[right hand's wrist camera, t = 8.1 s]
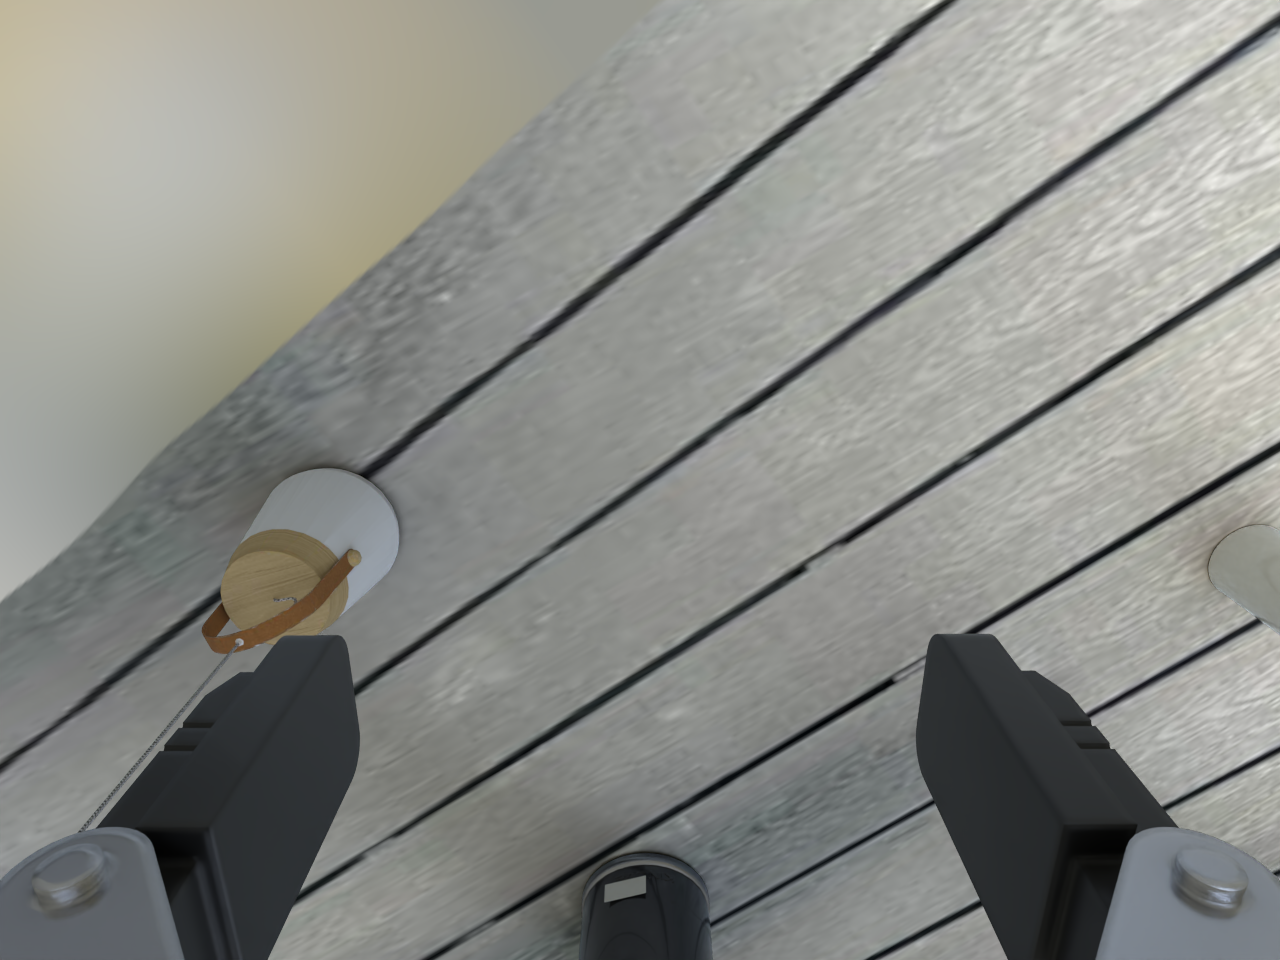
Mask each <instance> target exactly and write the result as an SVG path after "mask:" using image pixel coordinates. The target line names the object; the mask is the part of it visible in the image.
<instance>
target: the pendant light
mask: <svg viewBox="0 0 1280 960" xmlns="http://www.w3.org/2000/svg"><path fill="white" fill-rule="evenodd" d="M398 547H399V527H398V520H397V517H396V515H395V512H394V510H393V507H392V505H391V504H390V502H389V501H388V499H387V498H386V497H385V495H384V494H383V493H382V491H380V490H379V489H378V488H377V487H376V486H375V485H374V484H373V483H371V482H370V481H368V480H366V479H365V478H363V477H362V476H360V475H357V474H354V473H352V472H349V471H346V470H342V469H335V468H321V469H313V470H308V471H304V472H301V473H298V474H295V475H293V476H291V477H289V478H287V479H285V480H284V481H283V482H281V483H280V484H279V485H278V486H277V487H276V488H275V489H274V490H273V491H272V493H271V494H270V496H269V497H268V499H267V500H266V502H265V503H264V505H263V507H262V508H261V510H260V512H259V513H258V515H257V517H256V518H255V520H254V521H253V523H252V525H251V526H250V528H249V530H248V531H247V533H246V535H245V536H244V538H243V540H242V541H241V543H240V544H239V546H238V548H237V549H236V551H235V552H234V554H233V555H232V557H231V559H230V562H229V564H228V567H227V569H226V572H225V574H224V577H223V579H222V585H221V598H222V603H221V604H220V605H219V606H218V608H217V609H216V610H215V611H214V612H213V614H212V615H211V616H210V617H209V618H208V620H207V621H206V622H205V624H204V625H203V627H202V634H203V636H204V637H205V639H206V641H207V643H208V644H209V646H210V648H211V649H212V650H213V651H214V652H216V653H219V654H227V656H226V657H225V658H224V659H223V660H222V662H221V663H220V664H219V665H218V666H217V667H216V669H215V670H214V671H213V672H212V673H211V675H210V676H209V677H208V678H207V679H206V681H205V682H204V683H203V684H202V685H201V687H200V688H199V689H198V690H197V691H196V692H195V694H194V695H193V696H192V697H191V698H190V700H189V701H188V702H187V703H186V704H185V706H184V707H183V708H182V709H181V710H180V711H179V713H178V714H177V715H176V716H175V717H174V719H173V720H172V721H171V722H170V723H169V725H168V726H167V727H166V728H165V729H164V731H163V732H162V733H161V734H160V735H159V736H158V738H157V739H156V740H155V741H154V742H153V744H152V745H151V746H150V747H149V748H148V750H147V751H146V752H145V753H144V754H143V756H142V757H141V758H140V759H139V760H138V761H137V763H136V764H135V765H134V766H133V767H132V769H131V770H130V771H129V772H128V773H127V775H126V776H125V777H124V778H123V779H122V780H121V782H120V783H119V784H118V785H117V786H116V788H115V789H114V790H113V791H112V792H111V794H110V795H109V796H108V797H107V798H106V800H105V801H104V802H103V803H102V804H101V805H100V807H99V808H98V809H97V810H96V811H95V813H94V814H93V815H92V816H91V817H90V819H89V820H88V821H87V822H86V823H85V824H84V826H83V827H82V828H81V829H80V830H79V832H83V831H85V830H86V829H87V828H88V826H89V825H90V824H91V823H92V822H93V820H94V819H95V818H96V817H97V816H98V814H99V813H100V812H101V811H102V809H103V808H104V807H105V806H106V805H107V803H108V802H109V801H110V800H111V799H112V797H113V796H114V795H115V794H116V793H117V791H118V790H119V789H120V788H121V787H122V785H123V784H124V783H125V782H126V781H127V779H128V778H129V777H130V776H131V775H132V773H133V772H134V771H135V770H136V769H137V767H138V766H139V765H140V764H141V763H142V761H143V760H144V759H145V758H146V757H147V755H148V754H149V753H150V752H151V751H152V749H153V748H154V747H155V746H156V745H157V743H158V742H159V741H160V740H161V739H162V737H163V736H164V735H165V734H166V733H167V731H168V730H169V729H170V728H171V727H172V725H173V724H174V723H175V722H176V721H177V719H178V718H179V717H180V716H181V715H182V713H183V712H184V711H185V710H186V709H187V707H188V706H189V705H190V704H191V703H192V701H193V700H194V699H195V698H196V696H197V695H198V694H199V693H200V692H201V690H202V689H203V688H204V687H205V686H206V684H207V683H208V682H209V681H210V680H211V678H212V677H213V676H214V675H215V674H216V672H217V671H218V670H219V669H220V668H221V666H222V665H223V664H224V663H225V662H226V660H227V659H228V658H229V657H230V656H231V654H232V653H235V652H240V651H243V650H246V649H250V648H252V647H255V646H258V645H260V644H262V643H267V644H272V645H275V644H276V643H277V641H278V640H279V639H280V638H281V637H283V636H286V635H317V634H318V633H320V632H321V631H323V630H324V629H326V628H327V627H329V626H330V625H332V624H333V623H334V622H335V621H336V620H337V619H338V618H339V617H340V616H341V615H342V614H343V613H344V612H346V611H347V610H348V609H349V608H350V607H351V606H352V605H353V604H354V603H355V602H357V601H358V600H359V599H360V598H361V597H362V596H363V595H364V594H365V593H366V592H368V591H369V590H370V589H371V588H372V587H373V586H374V585H375V584H376V583H378V582H379V581H380V580H381V579H382V578H383V577H384V576H385V575H386V574H387V573H388V571H389V570H390V569H391V567H392V565H393V563H394V561H395V559H396V556H397V552H398ZM229 619H231V620H232V621H233V623H234V624H235V625H236V626H237V627H238V628H239V629H240V630H242V631H240V632H237V633H233V634H230V635H227V636H219V637H216V636H217V635H218V634H219V632H220V631H221V630H222V628H223V627H224V626H225V624H226V623H227V622H228V621H229ZM79 832H78V833H79Z"/></svg>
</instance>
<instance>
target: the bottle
mask: <svg viewBox="0 0 1280 960" xmlns="http://www.w3.org/2000/svg"><path fill="white" fill-rule="evenodd" d="M1208 571H1209V577H1210V579H1211V582H1212V583H1213V585H1214V586H1215V587H1216V588H1217V589H1218V590H1219V591H1221V592H1222V593H1223V594H1225V595H1226V596H1227V597H1229V598H1230V599H1231V600H1233V601H1234V602H1235V603H1237V604H1238V605H1240V606H1241V607H1242V608H1244V609H1245V610H1246V611H1248V612H1249V613H1250V614H1252V615H1253V616H1254V617H1256V618H1257V619H1259V620H1260V621H1261V622H1263V623H1264V624H1265V625H1267V626H1268V627H1269V628H1271V629H1272V630H1273V631H1275V632H1276V633H1277V634H1279V635H1280V530H1278V529H1276V528H1274V527H1271V526H1267V525H1252V526H1247V527H1244V528H1241V529H1238V530H1236V531H1234V532H1233V533H1231V534H1229V535H1228V536H1227V537H1225V538H1224V539H1223V540H1222V541H1221V542H1220V543H1219V544H1218V545H1217V547H1216V548H1215V550H1214V551H1213V553H1212V555H1211V558H1210V561H1209V567H1208Z"/></svg>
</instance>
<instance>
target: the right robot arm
mask: <svg viewBox="0 0 1280 960" xmlns="http://www.w3.org/2000/svg"><path fill="white" fill-rule="evenodd" d="M1109 744H1110V743H1109V742H1108V741H1107V739H1106V738H1105V737H1104V736H1103V735H1102V733H1101V732H1100V731H1099V730H1098V728H1097V727H1096V726H1092V725H1091V720H1090V719H1089V717H1088V716H1087V715H1086V714H1085V713H1084V711H1083V710H1082V709H1081V708H1080V706H1079V705H1078V704H1077V703H1076V702H1075V700H1074V699H1073V698H1072V697H1071V695H1070V694H1069V693H1067V692H1066V691H1064V690H1063V689H1061V688H1060V687H1058V686H1057V685H1055V684H1054V683H1052V682H1051V681H1049V680H1048V679H1046V678H1045V677H1043V676H1042V675H1040V674H1039V673H1037V672H1036V671H1021V670H1020V669H1019V667H1018V666H1017V665H1016V663H1015V662H1014V661H1013V659H1012V658H1011V657H1010V655H1009V654H1008V653H1007V651H1006V650H1005V649H1004V647H1003V646H1002V645H1001V644H1000V642H999V641H998V640H997V638H996V637H995V636H993V635H991V634H935V635H934V636H933V637H932V638H931V640H930V642H929V645H928V650H927V656H926V663H925V670H924V678H923V685H922V692H921V699H920V706H919V713H918V720H917V728H916V748H917V756H918V761H919V766H920V770H921V773H922V775H923V778H924V780H925V782H926V784H927V787H928V789H929V791H930V793H931V795H932V797H933V799H934V802H935V804H936V806H937V808H938V810H939V812H940V815H941V817H942V819H943V821H944V823H945V825H946V827H947V830H948V832H949V834H950V836H951V838H952V840H953V842H954V845H955V847H956V849H957V851H958V853H959V855H960V858H961V860H962V862H963V864H964V866H965V868H966V870H967V873H968V875H969V877H970V879H971V881H972V883H973V885H974V888H975V890H976V892H977V894H978V896H979V898H980V901H981V903H982V905H983V907H984V909H985V911H986V913H987V916H988V918H989V920H990V922H991V924H992V926H993V928H994V931H995V933H996V935H997V937H998V939H999V941H1000V943H1001V946H1002V948H1003V950H1004V952H1005V954H1006V956H1007V959H1008V960H1280V880H1279V879H1278V878H1277V877H1276V876H1275V875H1274V874H1273V873H1272V872H1271V871H1270V870H1269V869H1268V868H1266V867H1265V866H1264V865H1262V864H1261V863H1260V862H1259V861H1257V860H1256V859H1255V858H1253V857H1251V856H1250V855H1248V854H1247V853H1245V852H1244V851H1242V850H1240V849H1238V848H1236V847H1235V846H1233V845H1231V844H1229V843H1227V842H1224V841H1222V840H1220V839H1217V838H1215V837H1212V836H1209V835H1206V834H1204V833H1201V832H1197V831H1192V830H1188V829H1183V828H1178V826H1177V825H1176V824H1175V823H1174V821H1173V820H1172V819H1171V818H1170V817H1169V815H1168V814H1167V813H1166V812H1165V810H1164V809H1163V808H1162V807H1161V806H1160V804H1159V803H1158V802H1157V801H1156V799H1155V798H1154V797H1153V796H1152V795H1151V793H1150V792H1149V791H1148V790H1147V788H1146V787H1145V786H1144V785H1143V783H1142V782H1141V781H1140V780H1139V779H1138V777H1137V776H1136V775H1135V774H1134V772H1133V771H1132V770H1131V769H1130V768H1129V766H1128V765H1127V764H1126V763H1125V761H1124V760H1123V759H1122V758H1121V757H1120V755H1119V754H1118V753H1117V752H1116V750H1115V749H1110V745H1109ZM164 746H165V748H164V751H159V752H158V754H157V755H156V756H155V757H154V759H153V760H152V761H151V762H150V763H149V765H148V766H147V767H146V768H145V769H144V771H143V772H142V773H141V774H140V776H139V777H138V778H137V779H136V780H135V782H134V783H133V784H132V785H131V786H130V788H129V789H128V790H127V791H126V793H125V794H124V795H123V796H122V797H121V799H120V800H119V801H118V802H117V803H116V805H115V806H114V807H113V808H112V809H111V811H110V812H109V813H108V814H107V816H106V817H105V818H104V819H103V820H102V822H101V823H100V824H99V825H98V826H97V828H96V829H92V830H88V831H83V832H79V833H76V834H74V835H71V836H68V837H65V838H63V839H60V840H58V841H56V842H53V843H51V844H49V845H47V846H45V847H44V848H42V849H40V850H38V851H36V852H35V853H33V854H32V855H30V856H29V857H27V858H25V859H24V860H23V861H21V862H20V863H19V864H18V865H16V866H15V867H14V868H12V869H11V870H10V871H9V872H8V873H7V874H6V875H5V876H4V877H3V878H2V879H1V880H0V960H268V957H269V955H270V953H271V951H272V949H273V947H274V945H275V943H276V940H277V938H278V936H279V934H280V932H281V930H282V928H283V926H284V923H285V921H286V919H287V917H288V915H289V913H290V911H291V909H292V906H293V904H294V902H295V900H296V898H297V896H298V894H299V892H300V889H301V887H302V885H303V883H304V881H305V879H306V877H307V875H308V873H309V870H310V868H311V866H312V864H313V862H314V860H315V858H316V856H317V853H318V851H319V849H320V847H321V845H322V843H323V841H324V839H325V836H326V834H327V832H328V830H329V828H330V826H331V824H332V822H333V819H334V817H335V815H336V813H337V811H338V809H339V807H340V805H341V802H342V800H343V798H344V796H345V794H346V792H347V790H348V788H349V785H350V783H351V781H352V779H353V776H354V774H355V770H356V766H357V762H358V756H359V747H360V732H359V723H358V716H357V709H356V702H355V695H354V688H353V681H352V674H351V667H350V660H349V653H348V648H347V645H346V642H345V640H344V639H343V637H341V636H339V635H286V636H283V637H281V638H280V639H279V640H278V641H277V643H276V644H275V645H274V646H273V648H272V649H271V650H270V652H269V653H268V654H267V656H266V657H265V658H264V659H263V661H262V662H261V663H260V665H259V666H258V667H257V669H256V670H255V671H254V672H240V673H238V674H237V675H235V676H234V677H232V678H231V679H229V680H228V681H227V682H225V683H224V684H222V685H221V686H219V687H218V688H216V689H215V690H213V691H212V692H210V693H209V694H207V695H206V696H205V697H204V698H203V699H202V700H201V702H200V703H199V704H198V705H197V706H196V708H195V709H194V710H193V711H192V712H191V714H190V715H189V716H188V717H187V719H186V720H185V721H184V722H183V728H178V729H177V731H176V732H175V733H174V734H173V736H172V737H171V738H170V739H169V740H168V742H167V743H166V744H165V745H164ZM581 915H582V926H581V939H580V948H579V960H713V955H712V942H711V931H710V920H709V917H710V905H709V895H708V891H707V888H706V885H705V883H704V882H703V880H702V878H701V877H700V876H699V875H698V874H697V873H696V872H695V871H694V870H693V869H692V868H691V867H689V866H688V865H686V864H685V863H683V862H681V861H679V860H677V859H675V858H672V857H669V856H665V855H660V854H652V853H640V854H631V855H627V856H623V857H620V858H617V859H614V860H612V861H610V862H608V863H607V864H605V865H603V866H602V867H601V868H599V869H598V870H597V871H596V872H595V873H594V874H593V875H592V876H591V877H590V879H589V880H588V882H587V884H586V886H585V888H584V891H583V896H582V908H581Z"/></svg>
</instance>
